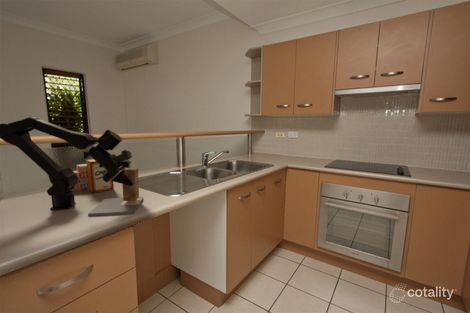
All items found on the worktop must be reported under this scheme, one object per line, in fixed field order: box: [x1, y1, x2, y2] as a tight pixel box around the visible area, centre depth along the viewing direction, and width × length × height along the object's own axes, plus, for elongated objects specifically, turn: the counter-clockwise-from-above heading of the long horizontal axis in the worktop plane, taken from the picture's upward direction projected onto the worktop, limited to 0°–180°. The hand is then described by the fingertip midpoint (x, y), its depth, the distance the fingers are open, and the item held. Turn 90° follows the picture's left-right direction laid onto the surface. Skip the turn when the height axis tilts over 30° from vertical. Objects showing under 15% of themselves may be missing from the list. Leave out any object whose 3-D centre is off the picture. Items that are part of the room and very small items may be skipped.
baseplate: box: [87, 196, 144, 217], centre depth 93 cm, size 16×16×1 cm
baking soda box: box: [85, 158, 115, 194], centre depth 113 cm, size 10×6×16 cm
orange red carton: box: [70, 163, 89, 192], centre depth 116 cm, size 21×6×12 cm, turn 134°
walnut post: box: [122, 167, 140, 201], centre depth 95 cm, size 5×5×13 cm
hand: (134, 183), depth 95 cm, fingers closed on walnut post, 5 cm apart
